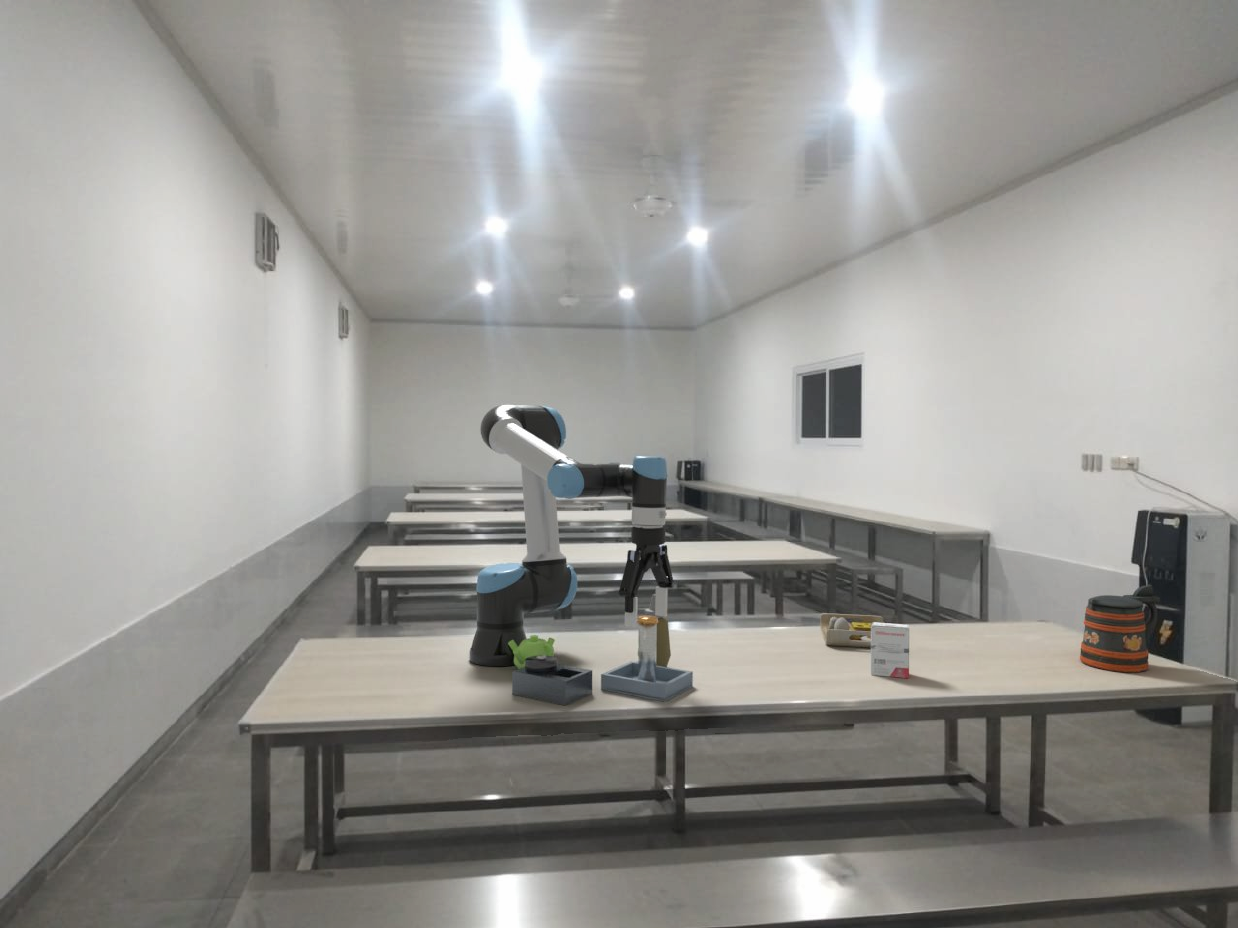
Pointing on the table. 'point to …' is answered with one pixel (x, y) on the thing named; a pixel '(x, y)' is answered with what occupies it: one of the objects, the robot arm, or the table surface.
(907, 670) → the ink box
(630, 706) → the table surface
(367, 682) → the table surface
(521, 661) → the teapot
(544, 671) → the grey boxy piece
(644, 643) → the glass jar with lid
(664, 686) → the parts tray
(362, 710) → the table surface
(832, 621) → the toy food set
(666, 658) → the squeeze bottle
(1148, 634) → the beer stein
